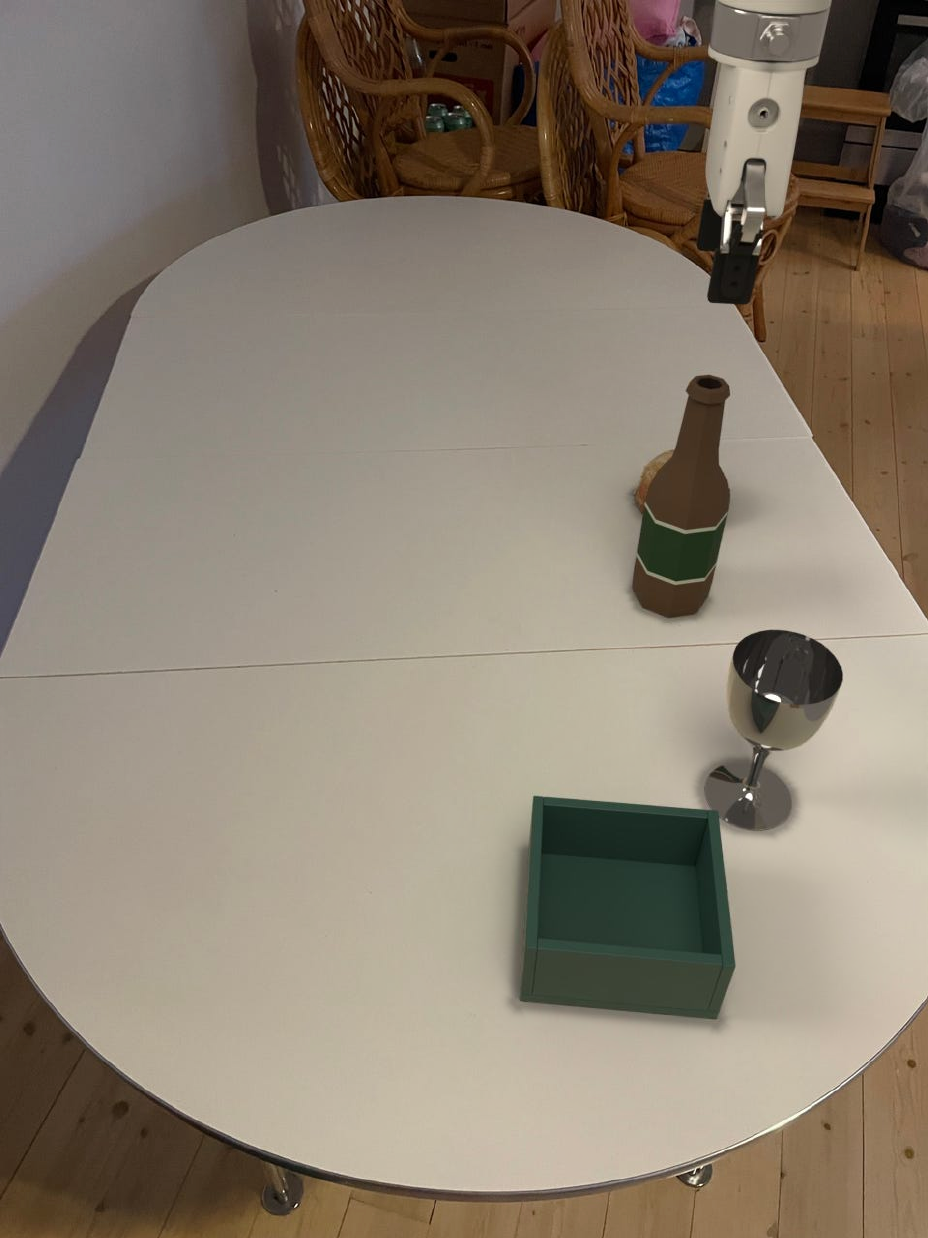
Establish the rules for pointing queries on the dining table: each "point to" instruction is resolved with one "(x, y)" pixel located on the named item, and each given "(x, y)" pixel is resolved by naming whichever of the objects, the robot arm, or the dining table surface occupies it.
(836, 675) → the wine glass
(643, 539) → the beer bottle
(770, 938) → the dining table surface
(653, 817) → the tub
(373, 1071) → the dining table surface
